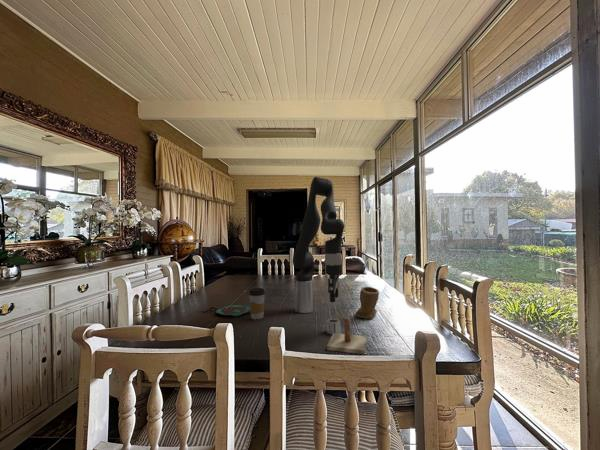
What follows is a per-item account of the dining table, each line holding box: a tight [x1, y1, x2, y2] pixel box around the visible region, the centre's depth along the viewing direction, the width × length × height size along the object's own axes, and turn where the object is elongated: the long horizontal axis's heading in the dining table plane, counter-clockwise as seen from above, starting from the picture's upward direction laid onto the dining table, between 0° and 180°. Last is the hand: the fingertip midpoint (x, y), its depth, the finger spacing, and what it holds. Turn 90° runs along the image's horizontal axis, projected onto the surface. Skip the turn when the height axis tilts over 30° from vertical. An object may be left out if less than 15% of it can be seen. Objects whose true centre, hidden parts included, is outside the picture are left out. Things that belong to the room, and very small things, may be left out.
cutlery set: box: [214, 304, 251, 317], centre depth 163 cm, size 20×30×2 cm, turn 64°
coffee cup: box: [248, 287, 266, 319], centre depth 150 cm, size 8×8×15 cm
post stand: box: [326, 316, 368, 355], centre depth 115 cm, size 14×14×10 cm
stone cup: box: [355, 286, 380, 319], centre depth 151 cm, size 15×12×15 cm
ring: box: [325, 318, 342, 335], centre depth 129 cm, size 6×6×5 cm
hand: (334, 299), depth 129 cm, fingers open, 8 cm apart
